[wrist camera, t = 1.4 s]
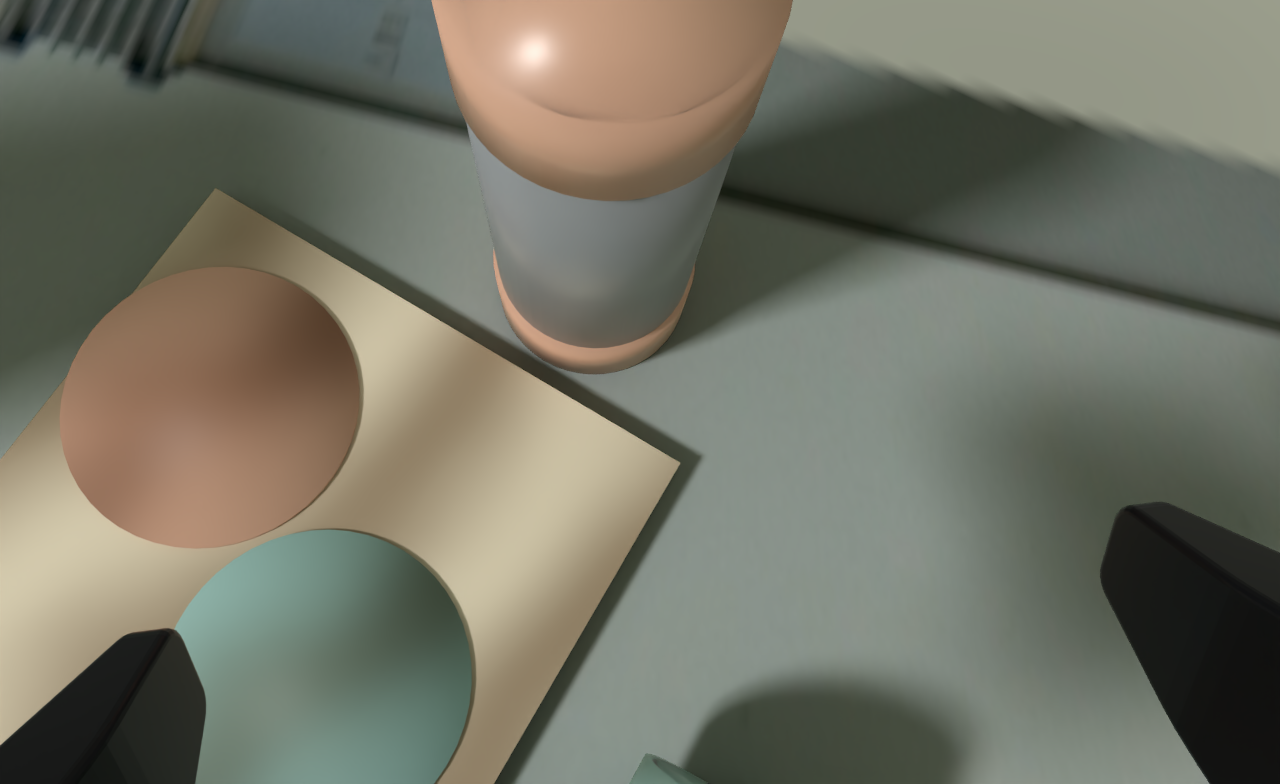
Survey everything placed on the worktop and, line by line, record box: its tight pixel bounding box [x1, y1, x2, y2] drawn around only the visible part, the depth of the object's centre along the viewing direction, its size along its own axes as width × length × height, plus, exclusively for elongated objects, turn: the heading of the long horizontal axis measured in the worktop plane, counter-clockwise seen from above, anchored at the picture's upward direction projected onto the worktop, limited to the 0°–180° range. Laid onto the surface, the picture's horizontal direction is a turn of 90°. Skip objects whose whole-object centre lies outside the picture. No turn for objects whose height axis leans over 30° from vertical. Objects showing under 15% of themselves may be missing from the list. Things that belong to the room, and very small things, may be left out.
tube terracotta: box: [432, 0, 793, 374], centre depth 18 cm, size 5×5×12 cm
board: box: [0, 188, 680, 784], centre depth 20 cm, size 14×18×2 cm
